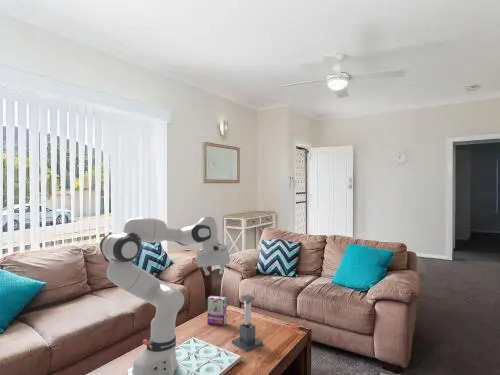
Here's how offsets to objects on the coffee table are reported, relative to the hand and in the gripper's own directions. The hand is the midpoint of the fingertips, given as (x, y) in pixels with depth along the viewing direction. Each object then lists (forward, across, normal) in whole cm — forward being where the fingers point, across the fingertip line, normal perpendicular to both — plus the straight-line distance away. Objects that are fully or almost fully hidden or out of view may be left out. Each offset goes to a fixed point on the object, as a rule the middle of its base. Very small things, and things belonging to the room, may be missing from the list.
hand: (214, 274), depth 169 cm
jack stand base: (+40, +2, +18) cm, 44 cm away
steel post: (+38, +3, +17) cm, 42 cm away
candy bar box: (+34, -27, +28) cm, 52 cm away
